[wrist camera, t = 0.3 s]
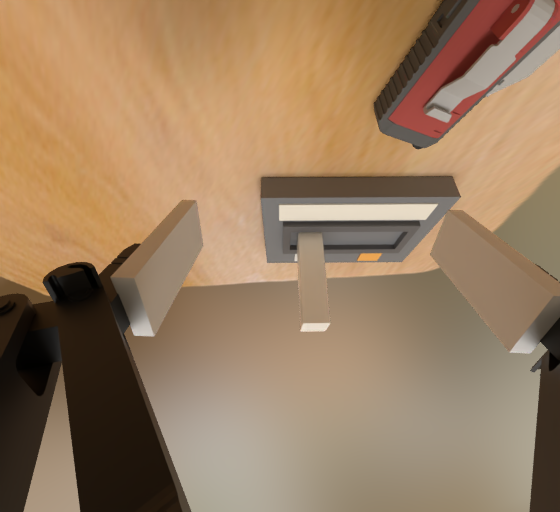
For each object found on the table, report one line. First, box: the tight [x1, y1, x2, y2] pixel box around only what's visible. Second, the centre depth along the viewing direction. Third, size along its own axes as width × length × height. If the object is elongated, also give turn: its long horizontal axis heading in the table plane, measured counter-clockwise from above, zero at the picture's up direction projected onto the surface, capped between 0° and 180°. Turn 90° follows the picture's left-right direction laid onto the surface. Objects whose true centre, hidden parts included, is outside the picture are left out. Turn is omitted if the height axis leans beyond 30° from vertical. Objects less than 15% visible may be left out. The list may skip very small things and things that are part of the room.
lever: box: [297, 232, 331, 331], centre depth 33 cm, size 4×3×12 cm
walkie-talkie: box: [374, 0, 560, 149], centre depth 16 cm, size 9×4×20 cm
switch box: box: [261, 177, 461, 263], centre depth 37 cm, size 16×22×4 cm
